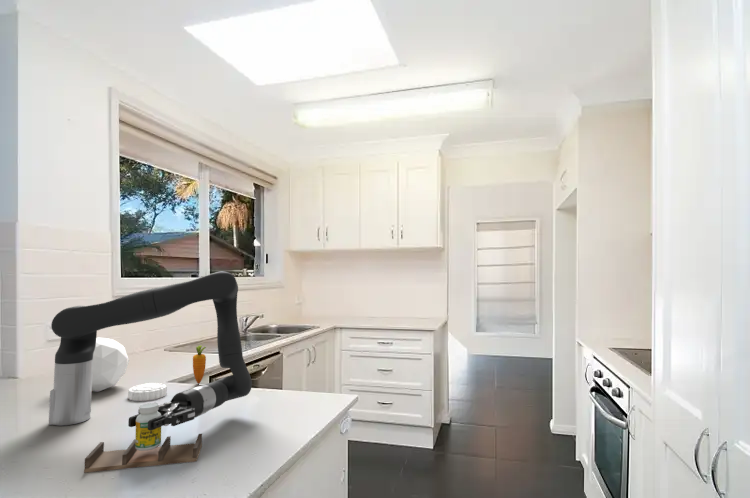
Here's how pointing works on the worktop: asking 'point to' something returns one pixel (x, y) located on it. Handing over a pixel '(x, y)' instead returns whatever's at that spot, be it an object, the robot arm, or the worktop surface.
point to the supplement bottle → (143, 435)
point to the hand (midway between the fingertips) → (139, 424)
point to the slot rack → (142, 456)
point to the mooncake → (147, 391)
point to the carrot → (199, 364)
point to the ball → (108, 363)
